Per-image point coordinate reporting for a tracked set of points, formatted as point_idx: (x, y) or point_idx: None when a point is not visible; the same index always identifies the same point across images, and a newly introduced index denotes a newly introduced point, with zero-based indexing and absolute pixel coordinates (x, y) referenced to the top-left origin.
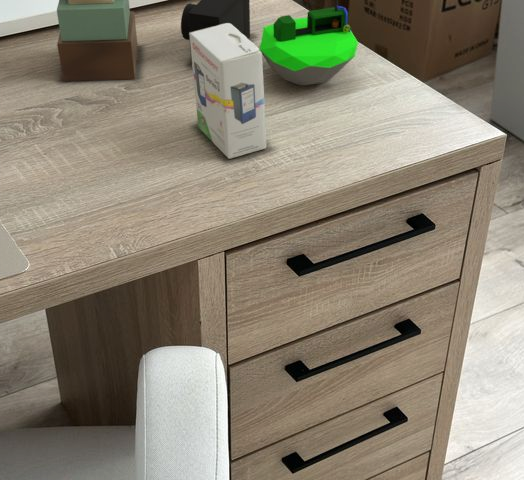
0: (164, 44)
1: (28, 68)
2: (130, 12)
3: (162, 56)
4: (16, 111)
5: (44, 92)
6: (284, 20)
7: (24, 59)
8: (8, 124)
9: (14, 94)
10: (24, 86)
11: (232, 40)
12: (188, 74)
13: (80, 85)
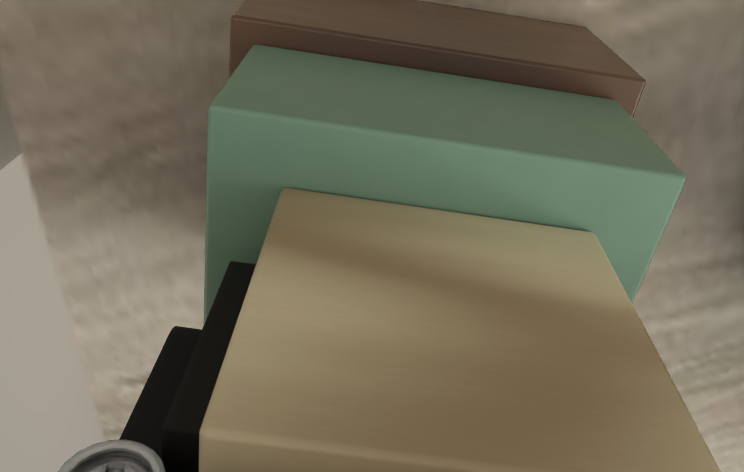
0: (719, 16)
1: (103, 118)
2: (620, 95)
3: (664, 135)
4: (121, 386)
5: (192, 303)
6: None
7: (68, 27)
8: (112, 438)
9: (92, 295)
10: (116, 252)
11: None
12: (701, 292)
13: None
